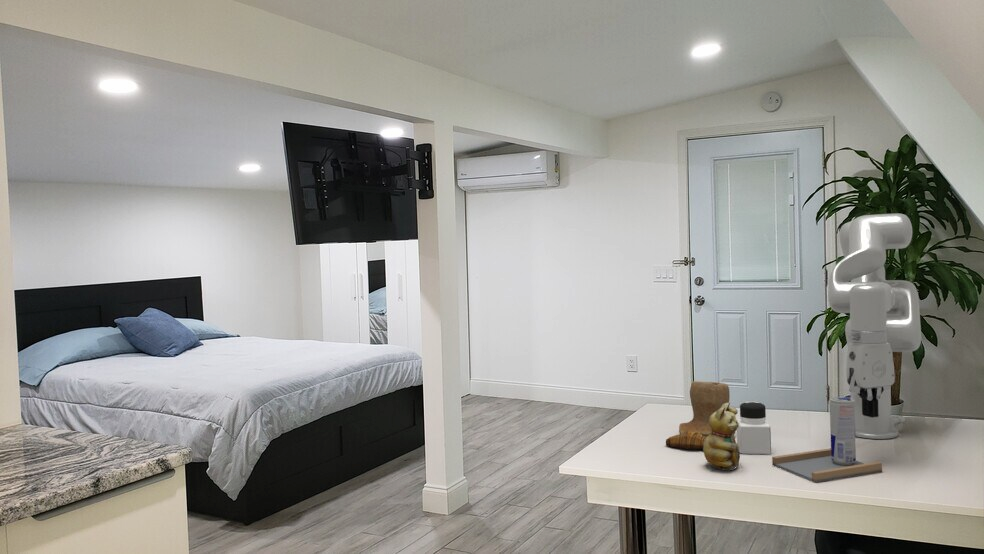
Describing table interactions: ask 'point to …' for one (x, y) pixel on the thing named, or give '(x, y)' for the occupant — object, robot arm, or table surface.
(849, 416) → the beverage can
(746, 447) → the medicine bottle
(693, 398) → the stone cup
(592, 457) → the table surface
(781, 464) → the rail mat
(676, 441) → the croissant
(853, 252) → the robot arm
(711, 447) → the decorative figurine
